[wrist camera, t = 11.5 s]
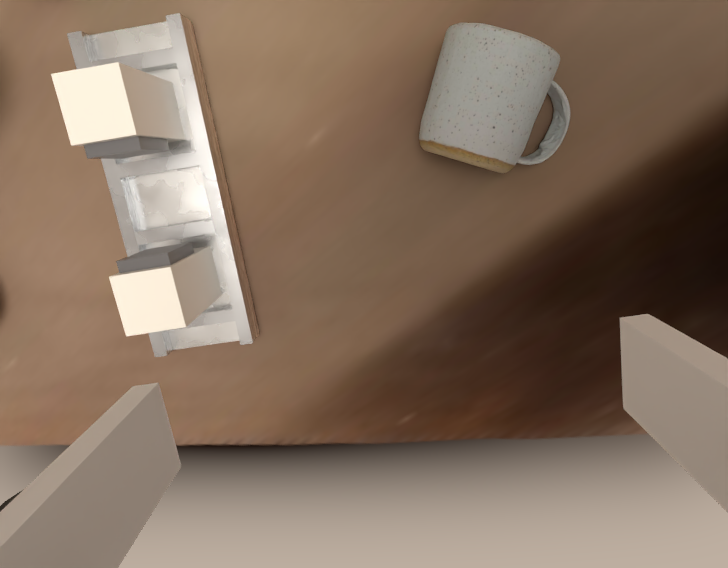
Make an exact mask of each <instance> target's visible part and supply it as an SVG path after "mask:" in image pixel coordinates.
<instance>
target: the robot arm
mask: <svg viewBox="0 0 728 568" xmlns="http://www.w3.org/2000/svg"><path fill="white" fill-rule="evenodd" d="M620 337H621V363H622V389H623V409H624V410H625V411H626V412H627V413H628V414H629V415H630V416H631V417H632V418H633V419H634V420H635V421H636V422H637V423H638V424H639V425H640V426H641V427H642V428H643V429H644V430H645V431H646V432H647V433H648V434H649V435H650V436H652V438H654V440H656V442H658V443H659V444H660V445H661V446H662V447H663V448H664V449H665V450H666V451H667V452H668V453H669V454H670V455H671V456H672V457H673V458H674V459H675V460H676V461H677V462H678V463H679V464H680V465H681V466H682V467H683V468H684V469H685V470H686V471H687V472H688V473H689V474H690V475H691V476H692V477H693V478H694V479H695V480H696V481H697V482H698V483H699V484H700V485H701V486H702V487H703V488H704V489H705V490H706V491H707V492H708V493H709V494H710V495H711V496H712V497H713V498H714V499H715V500H716V501H717V502H718V503H719V504H720V505H721V506H722V507H723V508H724V509H725V510H726V511H727V512H728V359H727V358H726V357H724V356H722V355H720V354H719V353H717V352H715V351H713V350H711V349H710V348H708V347H706V346H704V345H703V344H701V343H699V342H697V341H695V340H694V339H692V338H690V337H688V336H687V335H685V334H683V333H681V332H679V331H678V330H676V329H674V328H672V327H671V326H669V325H667V324H665V323H663V322H662V321H660V320H658V319H656V318H655V317H653V316H651V315H649V314H643V315H636V316H629V317H622V318H620ZM180 468H181V463H180V459H179V456H178V452H177V448H176V445H175V441H174V437H173V434H172V430H171V426H170V423H169V419H168V415H167V412H166V408H165V405H164V401H163V397H162V394H161V390H160V386H159V383H153V384H146V385H139V386H133V387H132V388H131V389H130V390H129V391H127V392H126V393H125V394H124V395H123V396H122V397H121V398H120V399H119V400H118V401H117V402H116V403H115V404H114V405H113V406H112V407H111V408H109V409H108V410H107V411H106V412H105V413H104V414H103V415H102V416H101V417H100V418H99V419H98V420H97V421H96V422H95V423H94V424H93V425H92V426H90V427H89V428H88V429H87V430H86V431H85V432H84V433H83V434H82V435H81V436H80V437H79V438H78V439H77V440H76V441H75V442H74V443H72V444H71V445H70V446H69V447H68V448H67V449H66V450H65V451H64V452H63V453H62V454H61V455H60V456H59V457H58V458H57V459H56V460H55V461H53V462H52V463H51V464H50V465H49V466H48V467H47V468H46V469H45V470H44V471H43V472H42V473H41V474H40V475H39V476H38V477H37V478H35V480H33V481H32V482H31V483H30V484H29V485H28V486H27V487H26V488H25V489H24V490H22V491H21V492H19V493H17V494H16V495H14V496H13V497H11V498H10V499H8V500H7V501H5V502H4V503H3V504H2V505H1V506H0V568H118V567H119V565H120V564H121V562H122V561H123V559H124V557H125V556H126V554H127V553H128V551H129V549H130V548H131V546H132V545H133V543H134V541H135V540H136V538H137V536H138V535H139V533H140V532H141V530H142V528H143V527H144V525H145V524H146V522H147V520H148V519H149V517H150V516H151V514H152V512H153V511H154V509H155V508H156V506H157V504H158V503H159V501H160V499H161V498H162V496H163V495H164V493H165V492H166V490H167V488H168V487H169V485H170V484H171V482H172V480H173V479H174V477H175V476H176V474H177V472H178V471H179V469H180Z"/></svg>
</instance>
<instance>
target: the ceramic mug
mask: <svg viewBox="0 0 728 568" xmlns="http://www.w3.org/2000/svg"><path fill="white" fill-rule="evenodd" d="M559 62H560V56H559V54H558V53H557V52H556V51H555V50H554V49H553V48H551V47H550V46H548V45H546V44H544V43H543V42H541V41H539V40H537V39H535V38H533V37H529V36H527V35H524V34H521V33H519V32H514V31H512V30H507V29H503V28H500V27H496V26H492V25H487V24H482V23H458V24H454V25H452V26H450V27H449V28H448V30H447V31H446V34H445V38H444V42H443V45H442V49H441V52H440V56H439V59H438V63H437V67H436V70H435V74H434V78H433V81H432V85H431V89H430V92H429V96H428V99H427V103H426V106H425V110H424V113H423V117H422V120H421V127H420V133H419V143H420V145H421V147H422V149H423V150H425V151H427V152H431V153H435V154H438V155H441V156H445V157H448V158H451V159H455V160H458V161H461V162H465V163H468V164H471V165H475V166H478V167H481V168H485V169H488V170H491V171H495V172H498V173H504V174H505V173H507V172H508V171H510V170H512V169H513V168H514V166H515V165H516V163H519V164H526V165H532V164H538V163H541V162H543V161H545V160H546V159H548V158H549V157H550V156H551V155H553V154H554V152H555V151H556V150H557V149H558V147H559V146H560V144H561V143H562V141H563V139H564V137H565V135H566V132H567V129H568V126H569V122H570V106H569V102H568V99H567V97H566V95H565V93H564V91H563V90H562V88H561V87H560V86H559V85H558V84H557V83H556V82H555V81H553V78H554V76H555V74H556V71H557V68H558V65H559ZM547 93H548V94H549V96H550V97H551V100H552V103H553V108H554V114H553V120H552V123H551V125H550V127H549V129H548V131H547V133H546V135H545V137H544V139H543V141H542V142H541V143H540V145H539V149H538V150H537V151H535V152H534V153H532V154H530V155H528V156H525V157H520V156H521V155H522V153H523V151H524V149H525V146H526V144H527V142H528V139H529V136H530V133H531V131H532V128H533V125H534V122H535V120H536V118H537V116H538V113H539V111H540V109H541V106H542V104H543V102H544V99H545V97H546V95H547Z"/></svg>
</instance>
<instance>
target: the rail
mask: <svg viewBox="0 0 728 568" xmlns="http://www.w3.org/2000/svg"><path fill="white" fill-rule="evenodd" d="M166 20H167V21H166V22H161V23H155V24H150V25H144V26H138V27H133V28H127V29H122V30H116V31H111V32H105V33H100V34H94V35H89V34H87V33H84V32H82V31H78V32H73V33H67V35H68V39H69V43H70V46H71V50H72V54H73V57H74V61H75V65H76V68H77V69H82V68H88V67H94V66H99V65H105V64H111V63H116V62H119V63H122V64H125V65H127V66H130V67H132V68H135V69H138V70H140V71H143V72H146V73H148V74H151V75H153V76H156V77H159V78H161V79H164V80H167V81H169V82H172V83H173V87H174V91H175V96H176V100H177V104H178V109H179V113H180V117H181V121H182V126H183V130H184V134H185V139H186V140H181V141H175V142H169V143H168V146H169V150H170V151H165V152H159V153H153V154H147V155H141V156H135V157H129V158H123V159H101V160H102V164H103V168H104V171H105V175H106V179H107V182H108V186H109V190H110V193H111V197H112V201H113V204H114V208H115V212H116V215H117V219H118V223H119V226H120V230H121V234H122V237H123V241H124V245H125V248H126V252H127V256H131V255H133V254H136V253H138V252H141V251H143V250H146V249H151V248H157V247H164V246H170V245H176V244H182V243H188V242H192V245H193V248H199V247H205V246H211V250H212V254H213V258H214V263H215V267H216V271H217V275H218V279H219V283H220V288H221V292H222V295H221V296H220V297H219V298H218V299H217V300H216V301H215V302H213V303H212V304H211V305H210V306H209V307H208V308H207V309H206V310H205V311H203V312H202V313H201V314H200V315H199V316H198V317H197V318H196V319H195V320H193V321H192V322H191V323H190V324H189V325H188V326H187V327H184V328H177V329H171V330H164V331H158V332H151V333H149V337H150V340H151V344H152V348H153V351H154V355H155V357H160V356H167V355H168V354H169V353H170V352H171V351H172V350H176V349H183V348H190V347H197V346H204V345H211V344H218V343H225V342H231V341H238V340H240V344H241V345H243V344H250V343H253V342H254V341H255V339H256V338H257V336H258V335H259V328H258V323H257V319H256V314H255V310H254V305H253V300H252V296H251V291H250V286H249V282H248V277H247V273H246V268H245V263H244V259H243V254H242V250H241V245H240V240H239V236H238V231H237V227H236V222H235V217H234V213H233V208H232V204H231V199H230V194H229V190H228V185H227V181H226V176H225V171H224V167H223V162H222V157H221V153H220V148H219V144H218V139H217V134H216V130H215V125H214V121H213V116H212V111H211V107H210V102H209V98H208V93H207V88H206V84H205V79H204V75H203V70H202V65H201V61H200V56H199V52H198V47H197V42H196V38H195V33H194V28H193V24H192V22H191V21H190V20H188V19H187V18H186V17H184V16H183V15H182V14H180V13H178V14H172V15H167V16H166Z"/></svg>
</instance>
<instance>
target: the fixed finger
mask: <svg viewBox="0 0 728 568" xmlns="http://www.w3.org/2000/svg"><path fill="white" fill-rule="evenodd" d="M51 75H52V79H53V83H54V86H55V90H56V93H57V97H58V100H59V104H60V107H61V111H62V114H63V118H64V121H65V125H66V128H67V132H68V135H69V139H70V142H71V146H84V148H85V151H86V155H87V158H88V159H123V158H129V157H135V156H141V155H147V154H153V153H159V152H165V151H170V150H169V146H168V143H169V142H175V141H181V140H186V139H185V134H184V130H183V126H182V121H181V117H180V113H179V109H178V104H177V100H176V96H175V91H174V87H173V83H172V82H169V81H167V80H164V79H161V78H159V77H156V76H153V75H151V74H148V73H146V72H143V71H140V70H138V69H135V68H132V67H130V66H127V65H125V64H122V63H119V62H116V63H111V64H105V65H99V66H94V67H88V68H82V69H77V70H71V71H65V72H60V73H54V74H51Z"/></svg>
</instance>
